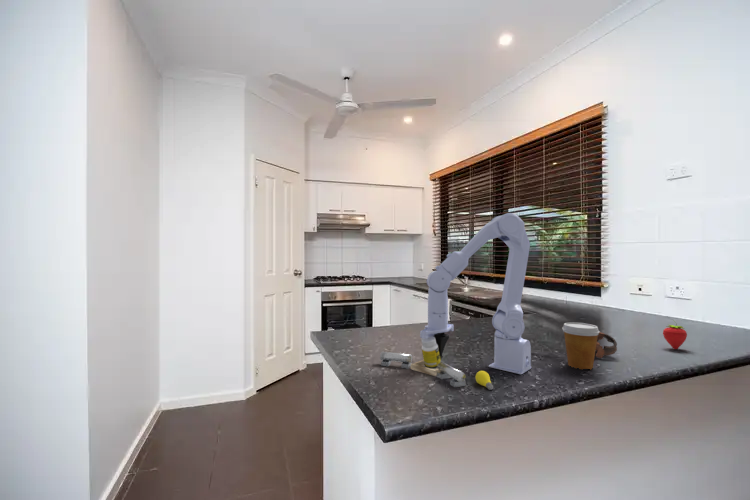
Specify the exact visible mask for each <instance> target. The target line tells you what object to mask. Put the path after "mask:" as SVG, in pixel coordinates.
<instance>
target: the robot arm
mask: <svg viewBox="0 0 750 500" xmlns="http://www.w3.org/2000/svg"><path fill="white" fill-rule="evenodd" d="M525 224H526V223H525V221H523V220H522V218H521V217H520V216H519V215H517V214H516V213H513V212H507V213H504V214H502V215H498V216H497V215H496V216H494V217H493V218H492V219H491V220H490V221H489V222H488V223H485V225H483V226H482V227H481V228H480V229H479V230H478V232H476V233H475V235H474V236H473V237H472V238H471V239H470V240H469V241H468V242H467V244H465V246H463V247H462V249H461V250H460V251H456V250H454V251H452V253H451V252H448V254H447V255H446V258H445V259H444V260H443V261H442V262H441V263H440V265H436V266H435V267H434V268H435V270H434V271H432V272H430V273H429V274H428V275H427V279H426V285H427V286H428V290H427V291H428V293H427V295H428V296H427V325H424V329H422V330H420V331H419V332H420V333H419V338H420V339H422V338H424V339H428V337H431V336H434V337H435V339H436V343H437V345H438V348H439V354H440V360H441V361H442V358H443V353H444V351H445V350H444V349H445V347H446V344H447V342H448V341H449V339H450V335H449V334H446V333H448V332H454V330H455V329H454V327H455V326H454V324H453V323H449V312H448V311H449V297H448V289H449V288H450V286H451V282H452V281H454V280H455V279H456V278H457V277H458V276H459V275H460V274H461V273H462V272H464V270H465V269H466V268H467V267H468V266H469V259H470V258H471V257H472V256H473V255H474V254H476V252H477V251H479V250H480V249H481V248H482V247H483V246H484V245H485V244H486V243H487V242H488V241H490V240H493V239H497V238H498V239H500V240H501V241H503V243H505V244H506V246H507V247H508V248H509V251H508V252H509V253H508V257H507V258H508V259H507V262H506V263H507V264H506V268H505V269H506V270H505V277H504V283H503V289H502V294H501V295H502V296H501V301H500V302H499V304H498V305H497V308H496V311H495V313H494V314H493V316H492V319H491V324H492V326H493V328H494V329H495V331H494V337H493V338H494V344H493V345H494V348H493V349H494V350H493V351H494V352H493V353H494V355H493V357H494V361H493V362H492V363H490V364H489V365H488V368H492V369H495V370H500V371H501V370H502V371H506V372H509V373H514V374H517V375H523V374H524V373H526V372H528V371H529V370H530V369H532V366H531V365H532V362H531V361H532V358H531V357H532V354H531V353H532V351H531V350H532V349H531V348H532V347H531V342H530V340H529V339H524V338H523V337H522V335H523V334H524V332H525V328H526V327H525V323H524V318H523V317H524V312H523V309H522V306H521V304H522V297H523V292H524V285H525V278H526V273H527V267H528V260H529V256H530V255H529V254H530V250H531V249H530V247H531V243H530V240H529V236H528V235H527V230H526V228H525Z"/></svg>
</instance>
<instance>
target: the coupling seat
mask: <svg viewBox="0 0 750 500" xmlns="http://www.w3.org/2000/svg"><path fill="white" fill-rule="evenodd" d="M410 370H413V371H416V372H420V373H423V374H425V375H429V376H433V377H437V372H441V371H439V370H438V368H437V369H435V370H434V369H430V368H427V367H425V364H424V359H421V360H418V361H416V362H412V363H411V366H410Z"/></svg>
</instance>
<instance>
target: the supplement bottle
mask: <svg viewBox="0 0 750 500" xmlns="http://www.w3.org/2000/svg"><path fill="white" fill-rule="evenodd" d="M420 341H421V352H422V358H423V359H422V360H424V364H425V365H424V367H427V368H430V369H434V370H435V369H437V366H438V364H439V363H440V362H442V359H441V360H440V354H439V348H438V345H437V343H436V339H435V337H434V336H431V337H428V339H424V338H421V339H420Z"/></svg>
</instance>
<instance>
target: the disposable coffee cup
mask: <svg viewBox="0 0 750 500" xmlns="http://www.w3.org/2000/svg"><path fill="white" fill-rule="evenodd" d="M561 329H562V331H563V335H564V341H565V342H564V343H565V352H566V357H567V365H568V366H569V367H570V366H571V367H570V368H573V367H574V368H573V369H577V368H579V369H578V370H583V369H590V370H593V369H592V368H594V363H595V357H596V343H597V336H598V334H599V333H601V331H600V330H599V327H598V325H595V324H590V323H584V322H565V323H563V326H562V327H561Z"/></svg>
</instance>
